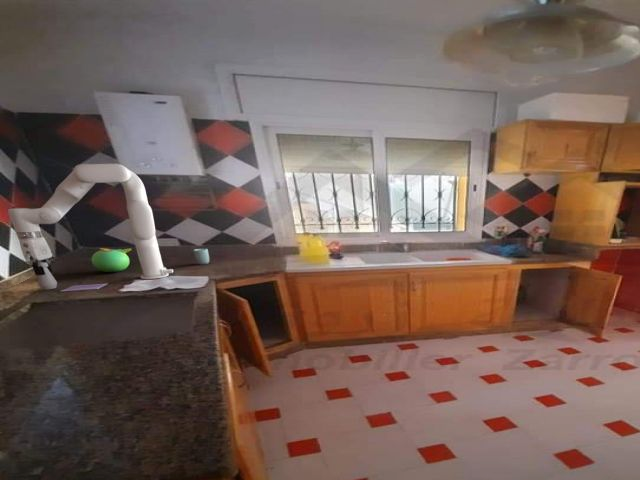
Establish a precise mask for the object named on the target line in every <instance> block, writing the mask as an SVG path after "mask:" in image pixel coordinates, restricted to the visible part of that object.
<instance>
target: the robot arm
mask: <svg viewBox="0 0 640 480" xmlns="http://www.w3.org/2000/svg"><path fill="white" fill-rule="evenodd" d="M101 183H102V184H105V183H119V184H121V186H122V187H123V190H124V195H125V199H126V200H125V201H126V210H127V213H128V219H129V223H130V232H131V235H132V238H133V241H134V245H135V249H136V253H137V256H138V260H139V264H140V267H141V270H142V275H140V279H141V280H154V279H161V278H165V277H168V276H169V275H170V274H173V273H174V269H172V268H170V269H169V268H167V267H166V266H164V263H163V260H162V255H161V252H160V247H159V242H158V239H157V235H156V226H155V225H156V224H155V219H154V213H153V209H152V207H151V205H149V201H148V196H147V192H146V187H145V185H144V182H143V181H142V179H141V178H140V177H139V176H138V175H137V174H136V173H135V172H133V171H132V170H130V169H128V168H127V167H126V166H124V165H123V164H120V163H80V164H76V165H75V167H74V168H73V170H72V171H71V172H70V173H69V174H68V175H67V177H66V178H65V179H63V181H62V182H60V183H59V184H58V185H57V187H56V188H55V191H54V193H53V194H52V196H51V197H50V198H49V199H48V200H47V201H46V202H45V203H44V204H43V205H42V206H41V207H38V208H28V207H18V208H17V207H15V208H9V209H8V210H7V213H8V216H9V219H10V221H11V224H12V226H13V229H14V231H15V234H16V237H17V238H18V240H19V245H20V249H21V252H22V255H23V257H24V259H25V263H26V264H29V265H30V266H31V268H32V269H33V271H34V274H35V276H38V275H45V272H44V269H43V266H41V263H40V262H46V263H47V264H48V267H47V268H48V270H49V271H50V273H53V268H52V265H51V258H52V257H53V253H52V251H51V250H52V249H51V248H50V246H49V244H48V242H47V240H46V239H45V237H44V235H43V233H42V229H41V227H40V224H41V225H54V224H56V223H58V222H59V221H61V219H62V218H63V217H64V216H65V215H66V214H67V213H68V212H69V211H70V210H71V209H72V208H73V206H75V204H78V203H79V202H80V200H82V198H83V197H84V196H85V195H86V194H87V193H88V192H89V191H90V190H91V189H92V188H93V187H94V186H95V185H96V184H101Z"/></svg>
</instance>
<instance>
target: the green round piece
mask: <svg viewBox="0 0 640 480" xmlns="http://www.w3.org/2000/svg"><path fill="white" fill-rule="evenodd" d="M130 251H132V248H124V249H123V248H122V249H121V248H118V249H116V248H104V247H103V248H102V247H99V250H97V251H96V252H94V253H93V255H92V256H91V264H92V265H93V267H94V268H95V269H97V270H98V271H100V272H105V273H118V272H122V271H124V270H126V269H127V268H128V267H129V265H130V258H129V256H128V255H127V253H128V252H130Z"/></svg>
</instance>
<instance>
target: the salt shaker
mask: <svg viewBox="0 0 640 480" xmlns="http://www.w3.org/2000/svg"><path fill="white" fill-rule="evenodd" d="M40 263H41V266H43V269H44V272H45V275H37V279H38V280H37V281H38V286H39V287H40V288H41V289H43V290H47V291H48V290H54V289H56V288H57V286H58V282H57V280H56V279H55V277H54V276H53V274H52V272H50V271H49V270H48V268H47V267H48V264H47V263H46V262H40Z"/></svg>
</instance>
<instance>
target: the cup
mask: <svg viewBox="0 0 640 480" xmlns="http://www.w3.org/2000/svg"><path fill="white" fill-rule="evenodd" d="M193 255H194V258H195V259H194V260H195V261H196V263H197V265H201V266H203V265H208V264H209V263H210V253H209V250H208V248H195V249H193Z"/></svg>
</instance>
